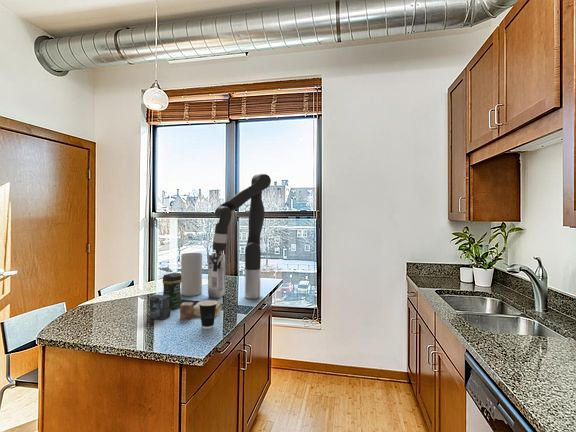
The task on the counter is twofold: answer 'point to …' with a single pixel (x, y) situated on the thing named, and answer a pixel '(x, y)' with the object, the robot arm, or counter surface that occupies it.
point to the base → (197, 309)
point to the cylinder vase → (191, 274)
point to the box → (159, 307)
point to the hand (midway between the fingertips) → (216, 270)
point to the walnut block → (186, 311)
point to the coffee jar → (172, 289)
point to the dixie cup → (207, 313)
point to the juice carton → (216, 278)
